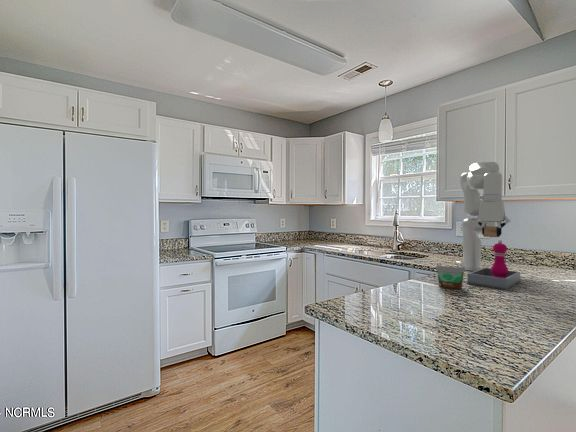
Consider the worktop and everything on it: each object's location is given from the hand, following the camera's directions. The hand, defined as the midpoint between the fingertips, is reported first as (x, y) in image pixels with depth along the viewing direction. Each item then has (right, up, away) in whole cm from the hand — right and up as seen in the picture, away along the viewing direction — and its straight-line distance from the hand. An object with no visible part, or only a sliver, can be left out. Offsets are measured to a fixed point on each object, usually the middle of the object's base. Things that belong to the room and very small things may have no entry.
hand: (491, 235), depth 148 cm
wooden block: (0, -1, 0) cm, 1 cm away
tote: (+4, -24, +4) cm, 25 cm away
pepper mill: (+9, -23, +8) cm, 26 cm away
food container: (-24, -24, -8) cm, 35 cm away
